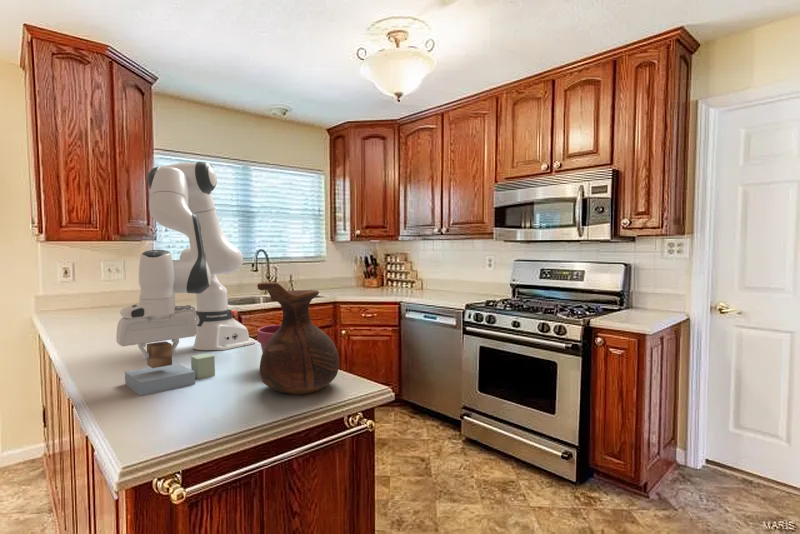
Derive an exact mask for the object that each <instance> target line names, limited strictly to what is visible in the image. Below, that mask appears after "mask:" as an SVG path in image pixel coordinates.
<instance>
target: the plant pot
mask: <svg viewBox="0 0 800 534" xmlns="http://www.w3.org/2000/svg"><path fill="white" fill-rule="evenodd" d="M280 326H281V324H272V325H265V326H262V327H258V329H257V338H256V339H257V342H258V343H259V344H260V348H261V351H262V353H263V351H264V349H265V347H266V345H267V343H268V341H269V339H270V338H271V336H272V335H273V334H274V333H275V332H276V331H277V330H278V329H279V328H280Z"/></svg>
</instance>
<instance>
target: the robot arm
mask: <svg viewBox="0 0 800 534" xmlns="http://www.w3.org/2000/svg"><path fill="white" fill-rule="evenodd" d="M217 182H218V181H217V173H216V171H215V169H214V167H213V166H212V164H210V163H209V162H207V161H197V162H194V161H193V162H191V161H190V162H189V161H187V162H178V163H172V164H168V165H163V166H162V165H160V166H159V165H158V166H156V167H153V168H151V170H149V172H148V174H147V183H148V188H149V190H150V191H149V201H148V202H149V203H148V208H149V214H150V216H151V217H152V219H153V221H155V222H156V223H158V224H159V225H161V226H163V227H165V228H166V229H169V230H173V231H176V232H179V233H181V234H183V235H185V236H186V237H187V238H188V241H189V247H186V248H184V249H183V250H182V251H181V252H180V255H179V260H173V255H172V253H171V251H169V250H167V249H166V250H165V249H151V250H145V251H143V252H142V253H141V254H140V257H139V258H140V259H139V264H138V265H139V266H138V285H139V287H140V294H139V302H137V303H134V304H131V305H129V306H126V307H123V308H122V309H120V316H121V318H120V319H119V320H118V322H117V326H116V337H115V340H116V343H117V345H119V346H121V347H128V346H136V345H137V347H138V349H139V350H140V351H141V352H142V359H143V360H147V359H150V358H151V356H150V352H149V351H148V352H147V349H145V348H147V344H149V343H156V342H164V341H171V344H172V356H175V355H176V349H177V347H178V344H180V339H186V338H190V337H191V338H192V337H195V338H194V343H193V346H192V347H193V349H194V350H199V351H226V350H230V349H231V350H232V349H235V348H239V347H245V346H249V345H253V344H255V343H256V341H255V339H254V338H252V337H250V335H249V331H248V328H247V326H245V325H243V324H242V323H241V322H240V321H237V320H236V319H235V318H233V317H235V316H237V315H238V311H237V310H234V309H232V310H231V309H229V302H228V301H229V299H228V296H229V295H228V289H227V288H226V286H224V285H223V284H222V283H221V282H220V281H219V279H218V277H217V275H229V274H234V273H237V272H239V271H240V270H241V269H242V266H243V262H244V257H243V254H242V251H241V250H240V249H239V248H238V247H236V246H235V245H233V244H232V243H231V242H230V240H229V239H228V238H227V236H226V235H225V233H224V232H223V229H222V228H221V225H220V221H219V217H218V215H217V214H218V213H217V209H216V205H215V202H214V198H213V195H212V192H213V191H214V189H215V188H216V186H217ZM175 294H195V297H196V298H195V299H196V308H195V307H194V306H192V305H191V304H190V305H189V304H188V305H177V306H176V295H175ZM244 345H245V346H244Z"/></svg>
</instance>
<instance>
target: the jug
mask: <svg viewBox="0 0 800 534" xmlns="http://www.w3.org/2000/svg"><path fill="white" fill-rule="evenodd" d="M256 286H257V289H258V290H260V291H267V292H268V294H269V296H270V299H271V300H272V301H275V302H277V303H278V304H279V305H280V306H281V308H282V321H281V324H280V325H281V326H280V328H279V329H278V330H277V331H276V332H275V333H274V334H273V335H272V336H271V338H270V339H269V341H268V343H267V345H266V347H265V349H264V351H263V353H262V354H261V357H260V362H259V375H260V379H261V381H262V383H263V384H264V385H265V386H267V387H269V388H270V389H271V388H272V389H274V390H275V391H276V392H279V393H282V394H283V393H284V394H290V395H306V394H312V393H315V392H318V391H320V389H322V388H324V387H326V386H328V385H329V384H331V383H332V381H334V380H335V378H336V377H337V374H338V373H339V368H340V358H339V352H338V349H337V347H336V345H335V343H334V341H333V340H332V339H331V337H330V336H329V335H328V334H327V333H326V332H325V331H324V330H322V329H320V328H319V327H318V326H317V325H315V324H313V322H312V319H311V315H310V311H309V310H310V309H309V307H310V304H311V302H312V300H313V299H314V298H316V297H317V296H318V295H319V293H320V291H319V290H316V289H300V290H299V289H297V290H296V289H295V290H287V289H286V288H284V287H283V286H282V285H281V284H280V283H279V282H276V281H269V282H268V281H265V282H259V283H257V285H256Z"/></svg>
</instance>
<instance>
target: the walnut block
mask: <svg viewBox="0 0 800 534" xmlns="http://www.w3.org/2000/svg"><path fill="white" fill-rule="evenodd" d="M172 344H173V343H172V342H168V341H167V340H165V341H158V342H151V343H146V352H148V351H149V352H150V356H151V358H150V359H146V362H147V363H146V364H147V366H149V368H150V367H151V368H157V367H163V366H169V365H172V363H173V355H172Z"/></svg>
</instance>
